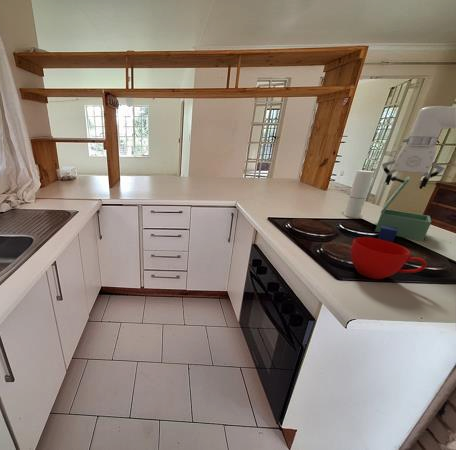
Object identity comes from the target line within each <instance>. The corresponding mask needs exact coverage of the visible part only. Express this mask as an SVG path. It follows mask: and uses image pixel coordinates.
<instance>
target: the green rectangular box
mask: <svg viewBox="0 0 456 450" xmlns="http://www.w3.org/2000/svg"><path fill="white" fill-rule="evenodd" d="M380 213H381V212H380ZM431 224H432V219H431V216H430V215H426V214H421V213H414V212H408V211H402V210H396V209H395V210H394V209H388V208H386V210H385V211H384V212H383V213H381V214H380V216H379V218H378V221H377V224H376V227H375V229H374V232H375V233H380V230H381V228H382V225H384V226H389V227H394V228H398V231H397V233H396V236H395V237H400V238H404V239H408V240H414V241H418V242H424V240H425V237H426V235H427V233H428V230H429V228H430V226H431Z"/></svg>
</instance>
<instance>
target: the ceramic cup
mask: <svg viewBox="0 0 456 450" xmlns="http://www.w3.org/2000/svg"><path fill="white" fill-rule="evenodd" d="M410 255H411V251H410V250H409V249H408V248H406V247H405V246H402V245H400V244H398V243H394V242H391V241H387V240H383V239H378V238H375V237H368V236H367V237H366V236H365V237H364V236H361V237H355V238H354V239H353V241H352V244H351V249H350V259H351V262H352V265H353V267H354V269H355V270H356V272H357V273H359V274H360V275H362V276H364V277H366V278H370V279H374V280H383V279H385V278H388V277H391V276H393V275H395V274H396V273H403V274H404V273H406V274H407V273H408V274H409V273H411V274H412V273H413V274H414V273H418V272H421V271H423V270H425V269H426V268H427V261H426V260H425V259H423V258H421V257H416V256H410ZM411 261H418V262H421V263H422V265H421V266H420V267H418V268H413V269H403V266H404V265H406V264H407V263H408V262H411Z"/></svg>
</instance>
